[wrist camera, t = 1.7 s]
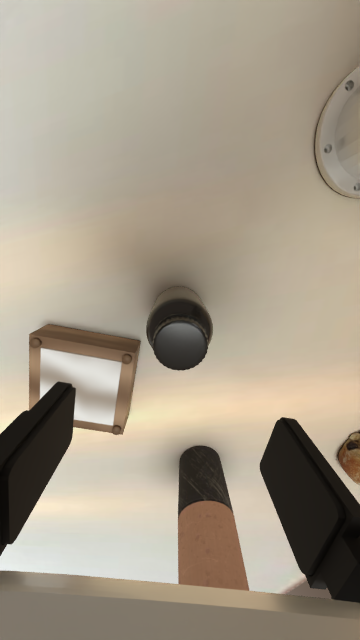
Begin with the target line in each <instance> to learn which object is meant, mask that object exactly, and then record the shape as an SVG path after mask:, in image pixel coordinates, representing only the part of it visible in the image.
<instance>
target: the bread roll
mask: <svg viewBox="0 0 360 640" xmlns="http://www.w3.org/2000/svg"><path fill="white" fill-rule="evenodd" d="M338 457H339V462H340V464H341V466H342V468H343V470H344V471H345V472H346V473H347V475H348V476H349V477H350V478H351V479H352V480H353V481H354V482H355V483H357V484H358V485H360V432H359V433H357V432H354V433H353V434H351V436H350V437H349V439H348V440H347V441H346V442H345V443H344V445H343V447H342V449H341V450H340V452H339V456H338Z"/></svg>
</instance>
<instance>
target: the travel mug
mask: <svg viewBox="0 0 360 640" xmlns="http://www.w3.org/2000/svg"><path fill="white" fill-rule="evenodd" d="M178 574H179V584H181V585H192V586H203V587H213V588H224V589H234V590H245V591H249V586H248V582H247V577H246V572H245V567H244V562H243V558H242V553H241V548H240V543H239V538H238V533H237V529H236V524H235V519H234V515H233V510H232V506H231V502H230V498H229V494H228V490H227V485H226V481H225V477H224V473H223V469H222V465H221V461H220V458H219V456H218V454H217V453H216V452H215V451H214V450H213V449H211V448H209V447H205V446H196V447H192V448H190V449H188V450H186V451H185V452H184V453H183V454H182V456H181V458H180V465H179V502H178Z"/></svg>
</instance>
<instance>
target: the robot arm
mask: <svg viewBox="0 0 360 640" xmlns="http://www.w3.org/2000/svg"><path fill="white" fill-rule="evenodd" d="M315 154H316V159H317V165H318V167H319V170H320V173H321V175H322V176H323V178H324V180H325V181H326V183H327V184H328V185H329V186H330V187H331V188H332V189H333V190H335V191H337V192H338V193H340V194H342V195H345V196H348V197H351V198H360V66H358V67H357V68H356V69H355V70H354V71H352V72H351V73H350V74H349V75H348V76H347V77H346V78H345V79H344V80H343V81H342V83H341V84H340V85H339V86H338V87H337V88H336V89H335V91H334V92H333V94H332V95H331V97H330V98H329V100H328V101H327V103H326V105H325V107H324V110H323V112H322V114H321V117H320V120H319V123H318V126H317V132H316V139H315ZM75 396H76V388H75V387H73V386H72V384H71V383H66V382H59V381H58V382H56V383H55V384H54V385H53V386H52V387H51V389H50V390H49V391H48V392H47V393H46V394H45V395H44V396H43V397H42V398H41V399H40V400H39V401H38V402H37V403H36V404H35V405H34V406H33V407H32V408H31V409H30V410H29V411H27V410H26V411H24V412H22V413H21V414H20V415H19V416H18V417H17V418H16V419H15V420H14V421H13V422H12V423H11V424H10V425H9V426H8V427H7V428H6V429H5V430H4V431H3V432H2V433H1V434H0V556H1V554H2V552H3V551H4V549H5V547H6V545H7V544H12V543H13V542H14V541H15V540H16V538H17V536H18V535H19V533H20V531H21V529H22V528H23V526H24V524H25V522H26V521H27V519H28V517H29V515H30V514H31V512H32V510H33V508H34V507H35V505H36V503H37V501H38V500H39V498H40V496H41V494H42V493H43V491H44V489H45V487H46V485H47V484H48V482H49V480H50V478H51V477H52V475H53V473H54V471H55V470H56V468H57V466H58V464H59V463H60V461H61V459H62V457H63V456H64V454H65V452H66V450H67V449H68V447H69V445H70V443H71V440H72V434H73V421H74V409H75ZM260 471H261V474H262V477H263V479H264V482H265V484H266V487H267V489H268V492H269V494H270V497H271V499H272V502H273V504H274V506H275V509H276V511H277V514H278V516H279V519H280V521H281V524H282V526H283V529H284V531H285V534H286V536H287V539H288V541H289V544H290V546H291V549H292V551H293V554H294V556H295V559H296V561H297V564H298V566H299V568H300V570H301V572H302V573H303V574H305V576H306V578H307V581H308V583H309V585H310V588H317V589H326V588H328V590H329V592H330V594H331V596H332V599H325V598H314V597H305V596H295V595H285V594H275V593H265V592H255V591H245V590H234V589H224V588H213V587H203V586H192V585H181V584H170V583H159V582H148V581H137V580H125V579H113V578H102V577H90V576H79V575H67V574H51V573H35V572H19V571H0V640H360V504H359V503H358V502H357V500H356V499H355V498H354V496H353V495H352V494H351V492H350V491H349V490H348V488H347V487H346V486H345V484H344V483H343V482H342V480H341V479H340V478H339V476H338V475H337V474H336V472H335V471H334V470H333V468H332V467H331V466H330V464H329V463H328V462H327V460H326V459H325V458H324V456H323V455H322V454H321V452H320V451H319V450H318V448H317V447H316V446H315V444H314V443H313V442H312V440H311V439H310V438H309V437H308V435H307V434H306V433H305V431H304V430H303V429H302V427H301V426H300V425H299V423H298V422H297V421H296V420H295V419H290V418H284V417H282V418H281V419H280V420H278V421H277V422H276V424H275V427H274V429H273V432H272V434H271V437H270V439H269V442H268V444H267V447H266V449H265V452H264V455H263V457H262V460H261V462H260Z"/></svg>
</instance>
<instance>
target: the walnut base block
mask: <svg viewBox="0 0 360 640" xmlns="http://www.w3.org/2000/svg"><path fill="white" fill-rule="evenodd" d="M140 342H141V341H138V340H132V339H127V338H121V337H116V336H111V335H105V334H100V333H94V332H89V331H83V330H78V329H72V328H67V327H61V326H56V325H51V324H48V325H46V326H44V327H42V328H40V329H38V330H36V331H34V332H33V333H31V334H29V410H30V409H31V408H32V407H33V406H34V405H35V404H36V403H37V402H38V401H39V400H40V399H41V398H42V397H43V396H44V395H45V394H46V393H47V392H48V391H49V390H50V389H51V387H52V386H53V385H54V384H55V383H56V382H58V381H59V382H66V383H71V384H72V386H73V387H75V388H76V396H75V409H74V421H73V427H77V428H83V429H90V430H96V431H103V432H109V433H113V434H115V435H118V434H122V435H123V432H124V428H125V425H126V422H127V419H128V415H129V410H130V404H131V398H132V392H133V385H134V379H135V373H136V367H137V361H138V355H139V348H140Z"/></svg>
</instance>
